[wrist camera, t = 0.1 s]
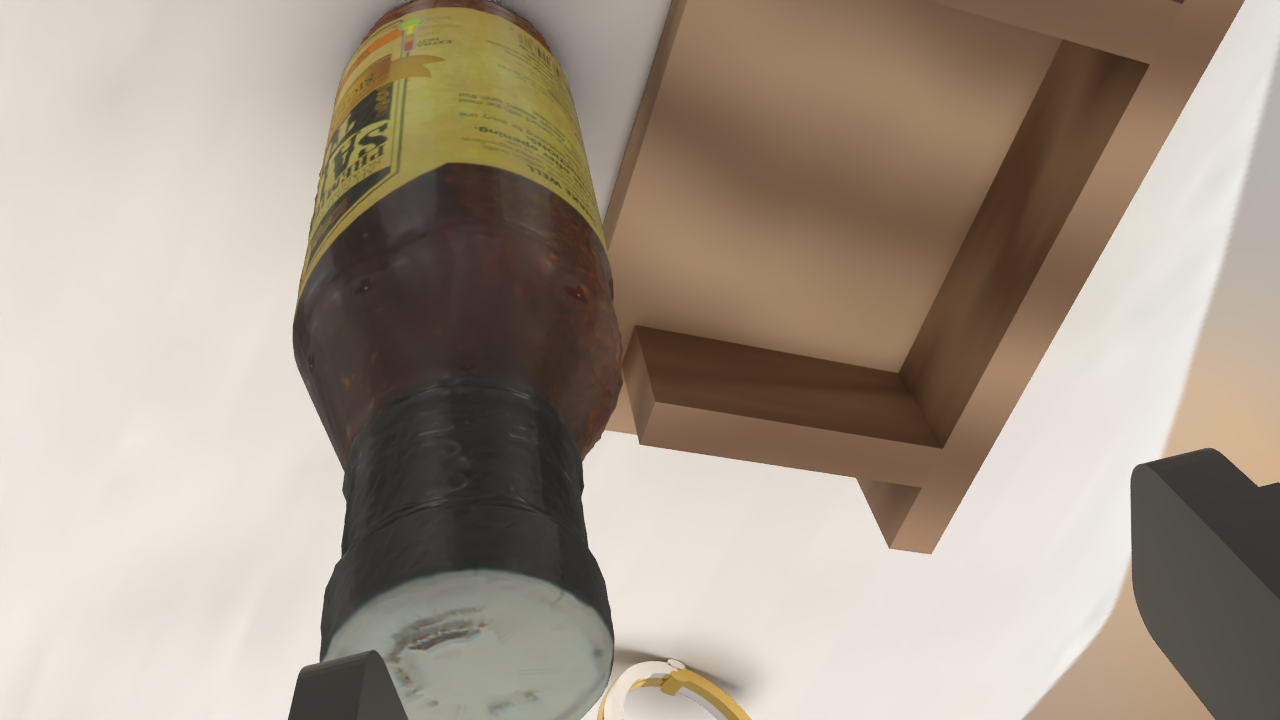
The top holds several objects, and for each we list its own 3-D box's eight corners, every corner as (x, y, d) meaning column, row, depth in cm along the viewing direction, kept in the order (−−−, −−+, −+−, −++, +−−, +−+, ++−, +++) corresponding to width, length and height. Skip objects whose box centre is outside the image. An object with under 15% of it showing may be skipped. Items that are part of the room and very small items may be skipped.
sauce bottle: (348, -36, 29) (227, 438, 13) (588, 5, 30) (756, 479, 14) (331, 196, 32) (217, 805, 16) (547, 223, 34) (645, 807, 18)
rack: (757, -275, 27) (819, -250, 23) (1167, -133, 31) (1293, -86, 26) (550, 394, 37) (565, 504, 33) (877, 447, 41) (931, 554, 36)
